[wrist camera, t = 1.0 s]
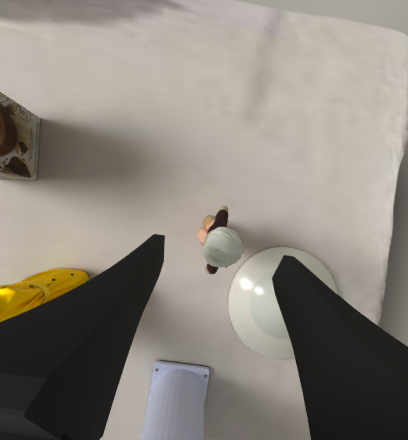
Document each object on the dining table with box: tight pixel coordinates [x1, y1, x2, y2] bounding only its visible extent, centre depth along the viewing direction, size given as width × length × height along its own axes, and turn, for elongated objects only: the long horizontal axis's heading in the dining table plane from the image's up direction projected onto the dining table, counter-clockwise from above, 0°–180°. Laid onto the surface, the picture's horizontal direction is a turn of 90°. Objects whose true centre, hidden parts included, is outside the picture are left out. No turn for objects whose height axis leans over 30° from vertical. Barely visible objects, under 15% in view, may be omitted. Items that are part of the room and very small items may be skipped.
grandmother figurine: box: [197, 206, 244, 274], centre depth 18 cm, size 8×4×13 cm, turn 179°
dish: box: [228, 247, 338, 360], centre depth 24 cm, size 16×16×1 cm
